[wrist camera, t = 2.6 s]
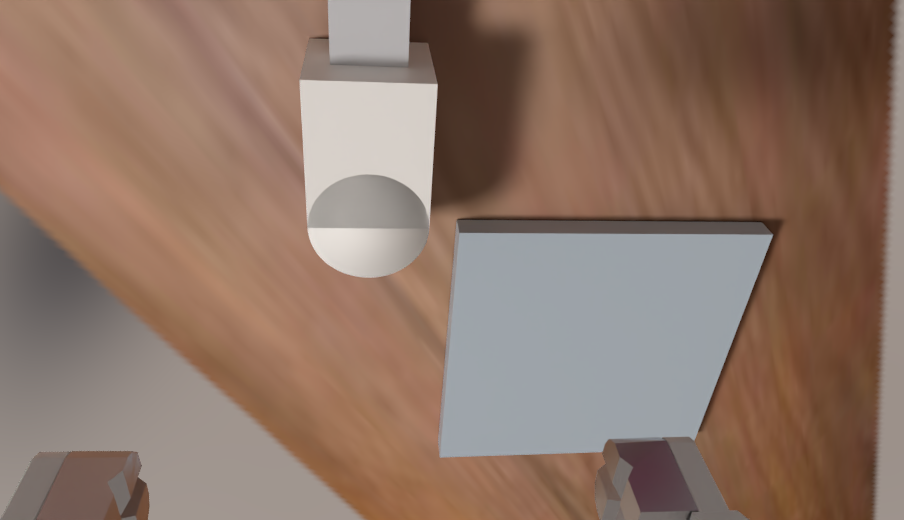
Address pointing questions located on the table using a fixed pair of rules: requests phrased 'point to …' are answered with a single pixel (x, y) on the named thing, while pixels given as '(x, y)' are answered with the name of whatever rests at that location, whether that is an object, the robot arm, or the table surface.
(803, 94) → the table surface
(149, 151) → the table surface
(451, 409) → the grey pad
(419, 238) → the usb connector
